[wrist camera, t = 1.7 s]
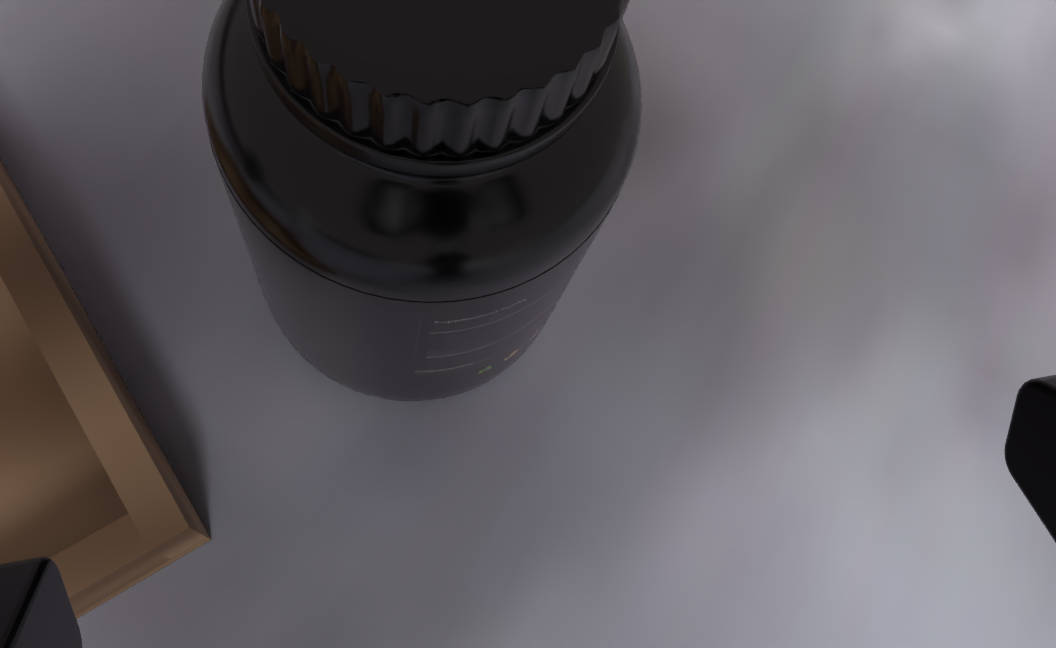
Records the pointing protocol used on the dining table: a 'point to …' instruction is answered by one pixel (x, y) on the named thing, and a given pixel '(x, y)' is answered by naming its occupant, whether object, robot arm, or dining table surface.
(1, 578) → the robot arm
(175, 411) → the dining table surface
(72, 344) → the walnut holder
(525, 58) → the supplement bottle
